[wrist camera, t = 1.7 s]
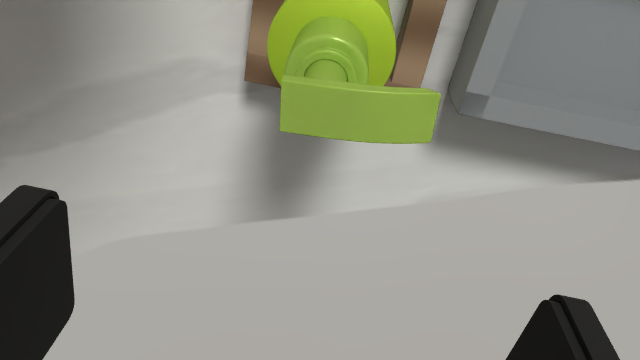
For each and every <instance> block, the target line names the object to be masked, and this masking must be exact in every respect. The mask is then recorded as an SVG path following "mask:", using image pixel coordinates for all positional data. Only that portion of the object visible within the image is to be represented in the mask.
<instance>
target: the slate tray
mask: <svg viewBox="0 0 640 360" xmlns="http://www.w3.org/2000/svg"><path fill="white" fill-rule="evenodd" d="M448 91H449V93H450V96H451V98H452V101H453V103H454V106H455V108H456V111H457V113H458V114H461V115H466V116H471V117H476V118H481V119H486V120H491V121H496V122H501V123H505V124H510V125H515V126H520V127H525V128H530V129H535V130H540V131H545V132H550V133H554V134H559V135H564V136H569V137H574V138H579V139H584V140H589V141H594V142H599V143H603V144H608V145H613V146H618V147H623V148H628V149H633V150H638V151H640V0H478V2H477V4H476V7H475V10H474V13H473V16H472V19H471V22H470V25H469V28H468V31H467V34H466V37H465V40H464V43H463V46H462V49H461V52H460V55H459V58H458V60H457V63H456V66H455V69H454V72H453V75H452V78H451V81H450V84H449V87H448Z"/></svg>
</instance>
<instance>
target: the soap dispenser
mask: <svg viewBox="0 0 640 360" xmlns="http://www.w3.org/2000/svg"><path fill="white" fill-rule="evenodd" d="M267 53H268V60H269V64H270V67H271V70H272V72H273V74H274V76H275V78H276V80H277V81H278V83H279V84H280V86H281V102H280V127H279V131H282V132H289V133H295V134H302V135H309V136H316V137H323V138H331V139H339V140H347V141H357V142H369V143H392V144H412V143H429V142H431V139H432V135H433V130H434V126H435V121H436V117H437V112H438V108H439V103H440V98H441V94H440V93H438V92H436V91H433V90H431V89H427V88H403V87H387V86H384V84H385V83H386V81H387V80H388V78H389V76H390V74H391V71H392V69H393V66H394V62H395V56H396V39H395V33H394V28H393V23H392V19H391V14H390V9H389V4H388V0H285V1H284V2H283V4H282V5H281V7H280V9H279V10H278V12H277V13H276V15H275V17H274V19H273V21H272V23H271V26H270V29H269V34H268V40H267Z"/></svg>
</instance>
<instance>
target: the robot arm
mask: <svg viewBox="0 0 640 360" xmlns="http://www.w3.org/2000/svg"><path fill="white" fill-rule="evenodd" d="M73 308H74V288H73V276H72V263H71V250H70V238H69V225H68V212H67V205H66V203H65V201H62V200H59V196H58V194H57V192H55V191H52V190H47V189H42V188H37V187H32V186H27V185H22V186H19V187H18V188H16V189H15V190H14V191H13V192H12V193H11V194H10V195H9V196H8V197H6V198H5V199H4V200H3V201H2V202H1V203H0V360H42V359H43V358H44V356H45V355H46V353H47V352H48V350H49V349H50V347H51V346H52V344H53V343H54V341H55V340H56V338H57V337H58V335H59V333H60V332H61V331H62V329H63V328H64V326H65V325H66V323H67V321H68V320H69V318H70V316H71V314H72V311H73ZM506 360H620V359H619V357H618V355H617V353H616V351H615V349H614V348H613V346H612V344H611V342H610V340H609V338H608V337H607V335H606V333H605V331H604V329H603V327H602V325H601V323H600V322H599V320H598V318H597V316H596V314H595V312H594V310H593V308H592V307H591V305H590V304H589V303H588V302H587V301H585V300H581V299H577V298H571V297H567V296H561V295H554V296H552V297H551V298H550V299H549V300H543V301H542V302H541V303H540V304H539V306H538V308H537V309H536V311H535V313H534V314H533V316H532V317H531V319H530V321H529V323H528V324H527V326H526V327H525V329H524V331H523V332H522V334H521V335H520V337H519V339H518V341H517V342H516V344H515V345H514V347H513V349H512V350H511V352H510V353H509V355H508V357H507V358H506Z"/></svg>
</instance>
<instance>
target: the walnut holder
mask: <svg viewBox="0 0 640 360" xmlns="http://www.w3.org/2000/svg"><path fill="white" fill-rule="evenodd" d="M284 1H285V0H253V7H252V16H251V25H250V34H249V43H248V52H247V61H246V70H245V79H244V81H249V82H254V83H259V84H264V85H269V86H274V87H279V88H281V86H280V84H279V83H278V81H277V80H276V78H275V76H274V74H273V72H272V70H271V67H270V64H269V60H268V53H267V40H268V34H269V29H270V26H271V23H272V21H273V19H274V17H275V15H276V13H277V12H278V10H279V9H280V7H281V5H282V4H283V2H284ZM446 2H447V0H409V1H408V4H407V8H406V12H405V16H404V19H403V23H402V27H401V30H400V34H399V38H398V42H397V45H396V56H395V62H394V66H393V69H392V71H391V74H390V76H389V78H388V80H387V81H386V83H385V84H384V86H387V87H403V88H420V86H421V83H422V80H423V77H424V73H425V70H426V67H427V64H428V60H429V57H430V54H431V51H432V47H433V44H434V41H435V38H436V34H437V31H438V28H439V25H440V21H441V18H442V15H443V12H444V8H445V5H446Z"/></svg>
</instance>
